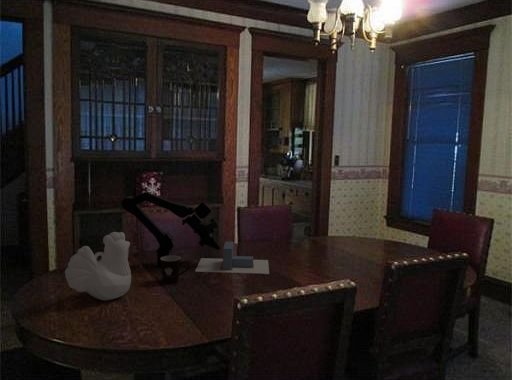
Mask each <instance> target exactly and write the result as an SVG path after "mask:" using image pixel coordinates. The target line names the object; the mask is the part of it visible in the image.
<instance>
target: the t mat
mask: <svg viewBox="0 0 512 380" xmlns="http://www.w3.org/2000/svg"><path fill="white" fill-rule="evenodd" d="M194 272H197V273H198V272H200V273H201V272H203V273H230V274H231V273H234V274H235V273H236V274H262V275H270V267H269V260H268V259H253V268H250V267H232V270H223V258H209V257H208V258H205V257H201V258H200V260H199V262H198V265H197V267H196V268H195V271H194Z"/></svg>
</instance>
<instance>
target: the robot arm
mask: <svg viewBox="0 0 512 380" xmlns="http://www.w3.org/2000/svg"><path fill="white" fill-rule="evenodd" d="M144 202H148V203H150V204H153V205H156V206H158V207H160V208H163V209H164V210H168V211H169V212H171V213H173V214H174V215H175V216H177V217H178V218H180V219H181V222H182V223H181V226H185V224H187V226H188V227H189V228H190V229H192V230H193V233H194V234H196V235H197V236H198V238H199V240H198V243H199V246H201V247H203V246H209V247H211V248H213V249H214V250H221V247H220V245H219V243H218V241H217V240H216V236H215V235H216V233H215V232H216V229H218V228H219V227H220V224H219V220H218V219H215V218H211V219H210V221H209V222H208V223H206V222H205V221H204V222H203V221H202V219H204V220H205V218H207V217H208V216H209V215H210V214H211V213H212V212H213V209H212V208H211V206H209V204H207V203H206V202H204V201H203V200H202V201H201V202H200V203H199V204H198V205H197V206H196V207H192V206H188V204H186V203H180V202H173V201H170V200H168V199H166V198H164V197H161V196H158V195H156V194H154V193H151V192H149V191H144V192H143V193H140V194H137V195H134V196H133V195H128V196H126V197H124V198H123V199H122V201H121V207H122V209H123V210H125V211H126V212H128V213H129V214H131V215H133V216H134V217H135V218H136V219H137V220H138V221H139V222H140V224H142V225H143V226H144V227H145V228H146V229H147V230H148V231H149V232H150V233H151V234H152V236H153V237H155V239H156V241H157V243H158V247H157V248H156V250H155V252H156V254H157V256H156V259H157V263H155V264H153V265H154V267H159V268H161V260H160V258H161V257H164V256H171V255H170V254H171V252H170V251H172V250H173V248H174V245H175V238H174V235H171V233H170V232H169V230H166V232H165V231H163V230H162V229H161V228H160V227H159V226H158V225H157V224H156V223H155V222H154V220H152V219H151V217H150V216H148V215H147V214H146V212H145V211H144V210H143V209H142V207H141V205H140V204H141V203H144Z"/></svg>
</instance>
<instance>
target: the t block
mask: <svg viewBox="0 0 512 380" xmlns="http://www.w3.org/2000/svg"><path fill="white" fill-rule="evenodd" d="M234 243H235V241H225V242H224V246H223V248H222V251H223V253H222V259H223V270H232V267H250V268H253V260H254V256H252V255H251V256H249V255H247V256H246V255H245V256H244V255H234V250H235V249H234V246H235V245H234Z"/></svg>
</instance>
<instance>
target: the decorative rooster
mask: <svg viewBox="0 0 512 380" xmlns="http://www.w3.org/2000/svg"><path fill="white" fill-rule="evenodd" d="M102 242H103V244H104V248H103V251H98V252H95V254H94V252H93V250H92V249H91V248H90V246H88V245H83V246H81V248H78V249H77V251H76V253H75V254H73V255H72V256H71V257H70V259H69V261H68V264H67V265H68V266H67V267H66V269H65V270H64V274H65V279H66V282H67V284H68V287H69V288H70V289H72V290H73V289H74V290H75V291H76V292H77V293H83V292H84V293H85V292H86V293H87V294H89V295H90V296H91V297H92V298H94V299H97V300H101V301H111V300H114V299H118V298H120V297H122V296H123V295H125V294H126V293H128V291H129V290H130V287H131V283H132V273H131V271H132V270H131V268H130V264H129V261H128V258H129V253H130V251H129V250H130V249H129V248H130V246H131V242H130V241H128V240H126V235H125V233H124V232H122V231H120V232H117V231H113V232H110V233H109V234H107V235H104V237H103V238H102ZM100 256H101V257H100ZM98 257H100V258H101V259H100V260H98Z"/></svg>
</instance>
